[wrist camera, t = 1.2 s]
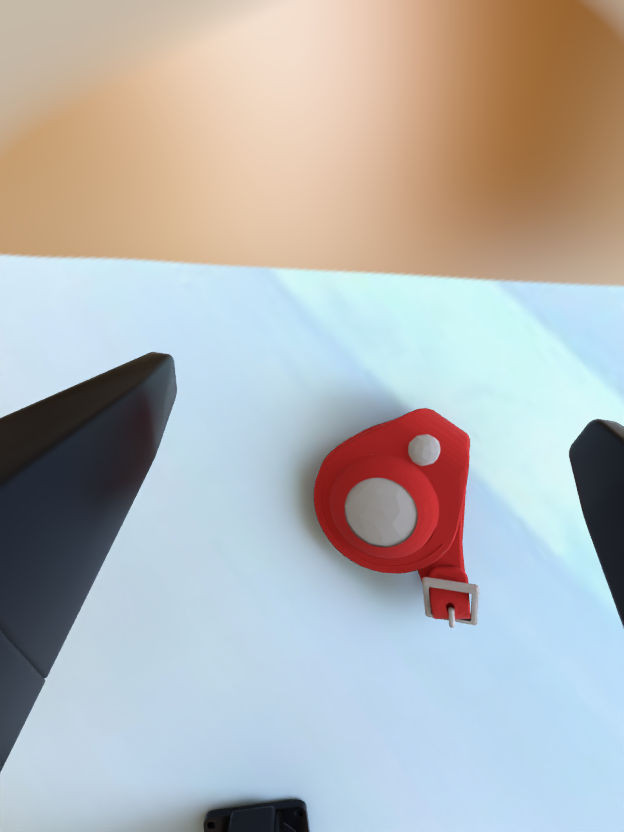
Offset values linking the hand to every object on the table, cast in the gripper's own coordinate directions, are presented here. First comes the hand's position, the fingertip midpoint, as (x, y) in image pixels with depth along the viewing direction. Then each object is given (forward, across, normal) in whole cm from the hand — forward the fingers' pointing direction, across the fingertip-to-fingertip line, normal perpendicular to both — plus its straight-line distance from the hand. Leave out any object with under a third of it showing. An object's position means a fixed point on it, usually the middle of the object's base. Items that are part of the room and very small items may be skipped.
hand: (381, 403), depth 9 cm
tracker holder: (+8, -5, +14) cm, 17 cm away
